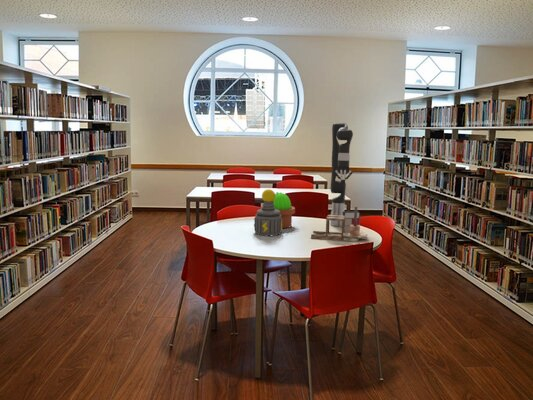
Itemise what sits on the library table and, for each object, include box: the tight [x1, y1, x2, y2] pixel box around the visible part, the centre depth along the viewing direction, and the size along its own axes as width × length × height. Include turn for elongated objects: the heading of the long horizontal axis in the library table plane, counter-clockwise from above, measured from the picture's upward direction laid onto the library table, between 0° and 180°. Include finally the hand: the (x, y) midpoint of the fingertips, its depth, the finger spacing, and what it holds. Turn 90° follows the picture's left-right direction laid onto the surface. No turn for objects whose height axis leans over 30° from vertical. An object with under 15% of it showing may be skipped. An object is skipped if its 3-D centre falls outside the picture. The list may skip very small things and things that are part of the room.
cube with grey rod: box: [343, 206, 368, 239], centre depth 309 cm, size 16×9×19 cm, turn 78°
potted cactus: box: [273, 192, 296, 229], centre depth 348 cm, size 22×22×25 cm
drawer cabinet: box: [310, 214, 359, 242], centre depth 313 cm, size 30×12×14 cm, turn 78°
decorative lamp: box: [253, 188, 283, 236], centre depth 322 cm, size 19×19×30 cm
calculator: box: [343, 210, 361, 233], centre depth 328 cm, size 11×4×15 cm, turn 101°
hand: (342, 185), depth 323 cm, fingers closed
